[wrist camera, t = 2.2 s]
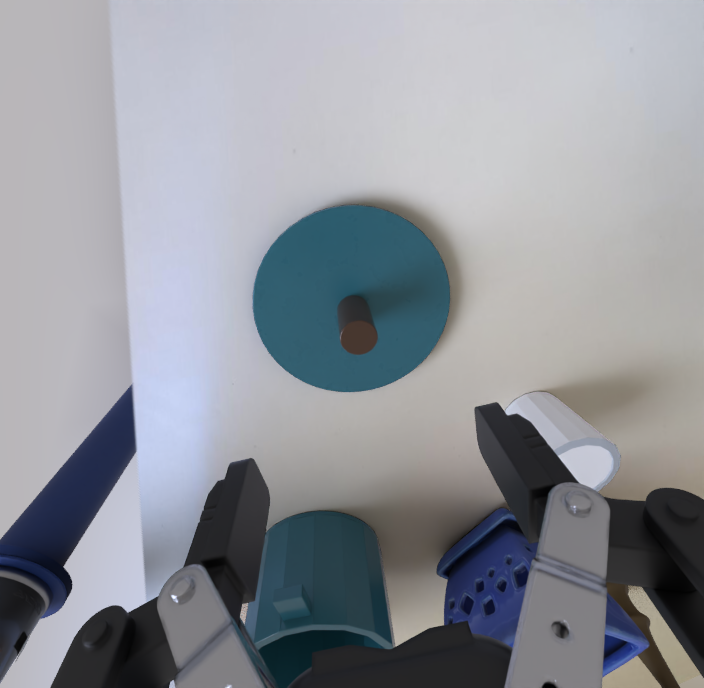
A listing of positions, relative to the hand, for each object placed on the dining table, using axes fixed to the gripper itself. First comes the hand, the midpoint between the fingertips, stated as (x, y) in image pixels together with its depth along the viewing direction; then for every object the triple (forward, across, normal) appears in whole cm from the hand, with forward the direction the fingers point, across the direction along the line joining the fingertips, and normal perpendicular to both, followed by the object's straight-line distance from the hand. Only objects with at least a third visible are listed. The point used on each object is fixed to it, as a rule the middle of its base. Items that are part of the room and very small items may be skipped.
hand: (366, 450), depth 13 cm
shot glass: (+17, -14, +16) cm, 27 cm away
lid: (+16, 0, +1) cm, 16 cm away
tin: (+16, +10, +29) cm, 35 cm away
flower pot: (+17, -10, +34) cm, 39 cm away
